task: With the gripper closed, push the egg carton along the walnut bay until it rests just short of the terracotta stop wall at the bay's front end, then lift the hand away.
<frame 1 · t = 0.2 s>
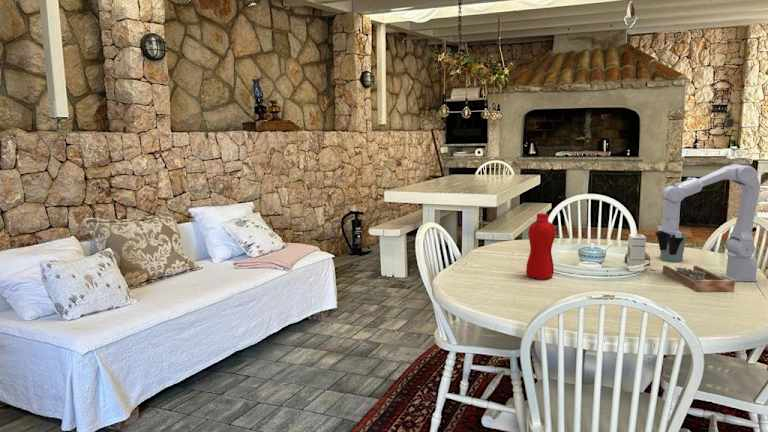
hand: (667, 252, 219), 10 cm above the table, tool pointing down, fingers open, 7 cm apart
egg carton: (689, 279, 219), on the table
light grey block: (636, 263, 242), on the table
bay: (695, 281, 215), on the table
water bottle: (540, 276, 221), on the table
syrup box: (634, 270, 231), on the table
grey cup: (670, 260, 247), on the table
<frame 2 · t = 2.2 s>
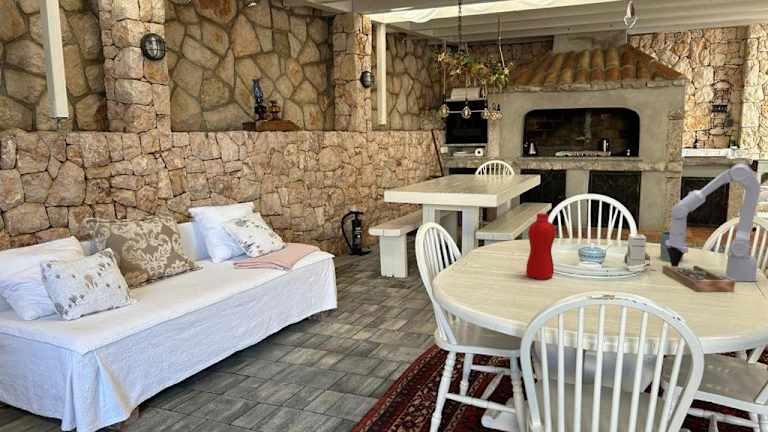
hand: (674, 266, 230), 2 cm above the table, tool pointing down, fingers closed
nothing on the table moved.
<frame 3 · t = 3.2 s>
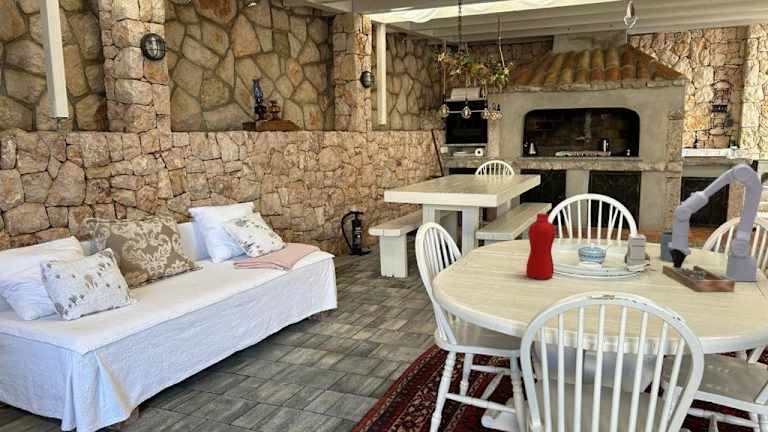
hand: (677, 268, 228), 1 cm above the table, tool pointing down, fingers closed
nothing on the table moved.
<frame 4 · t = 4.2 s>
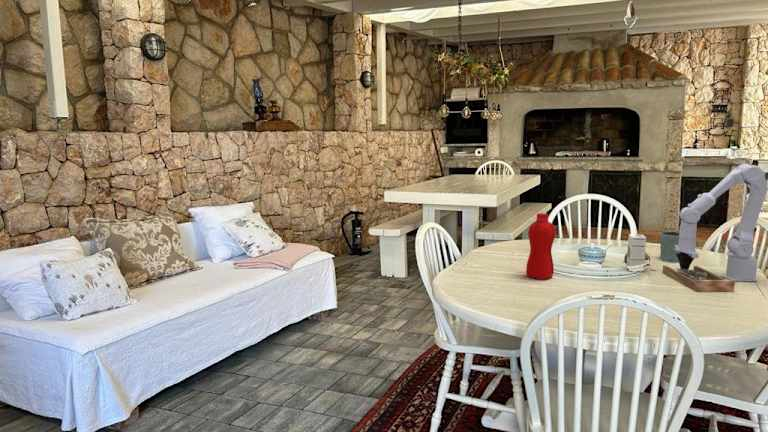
hand: (684, 271, 223), 1 cm above the table, tool pointing down, fingers closed
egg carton: (690, 280, 217), on the table, touching gripper
everything else where it was.
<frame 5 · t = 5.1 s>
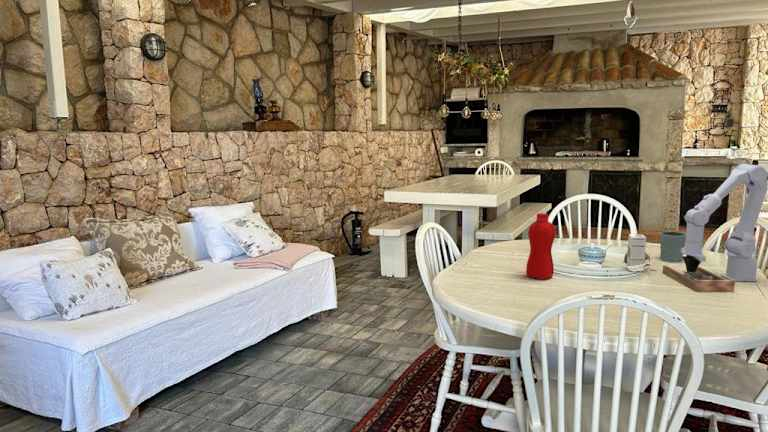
hand: (690, 275, 218), 1 cm above the table, tool pointing down, fingers closed
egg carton: (696, 284, 212), on the table, touching gripper
everything else where it was.
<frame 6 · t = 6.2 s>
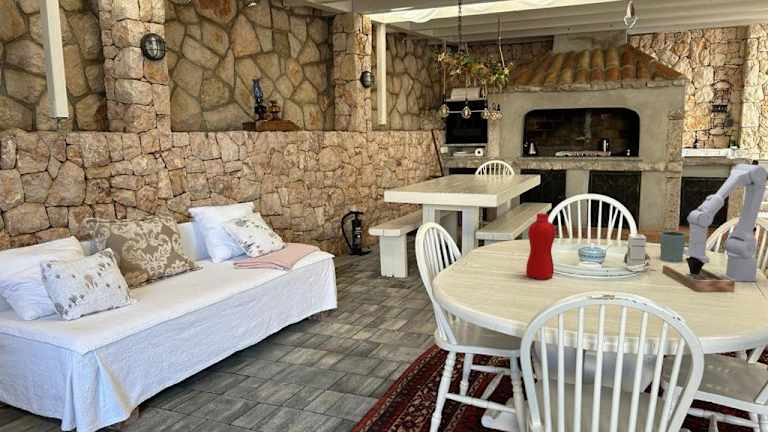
hand: (694, 277, 215), 1 cm above the table, tool pointing down, fingers closed
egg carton: (700, 286, 209), on the table
everything else where it was.
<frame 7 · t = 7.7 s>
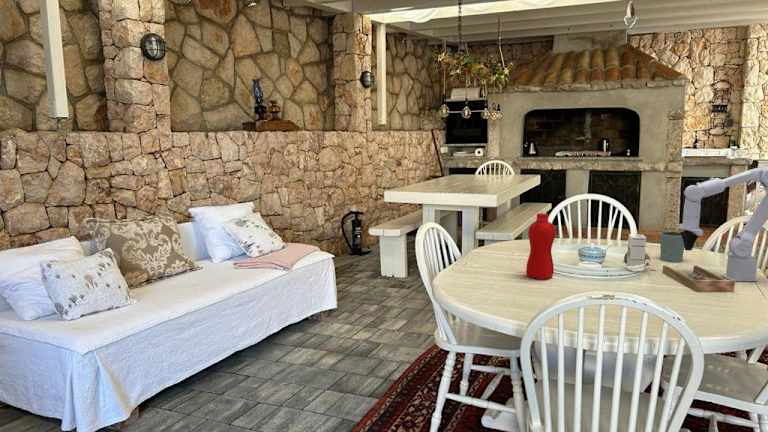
hand: (688, 250, 223), 10 cm above the table, tool pointing down, fingers closed
nothing on the table moved.
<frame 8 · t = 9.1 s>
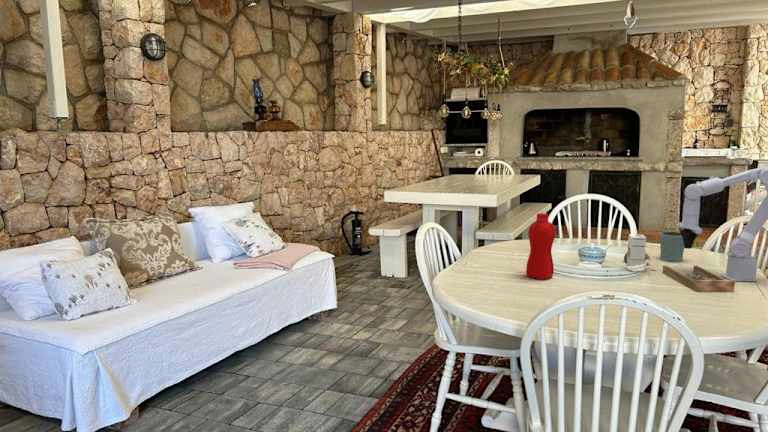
hand: (687, 248, 226), 10 cm above the table, tool pointing down, fingers closed
nothing on the table moved.
at the end: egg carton inside the target area (1.5 cm from its centre), on the table; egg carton moved 9.6 cm from its start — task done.
